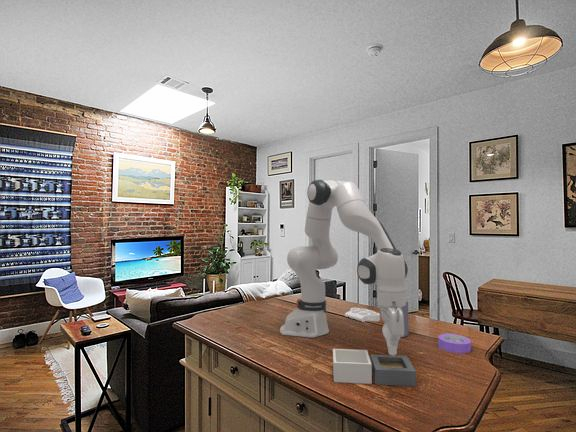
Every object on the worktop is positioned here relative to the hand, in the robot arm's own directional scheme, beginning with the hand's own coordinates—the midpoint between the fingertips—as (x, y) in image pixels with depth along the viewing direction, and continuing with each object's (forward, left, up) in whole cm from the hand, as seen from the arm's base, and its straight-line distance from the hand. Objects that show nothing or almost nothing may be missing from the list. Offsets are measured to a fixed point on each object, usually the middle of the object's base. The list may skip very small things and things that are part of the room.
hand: (392, 341), depth 108 cm
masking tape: (+29, +28, -12) cm, 42 cm away
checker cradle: (0, 0, -11) cm, 11 cm away
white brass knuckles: (-2, +68, -12) cm, 69 cm away
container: (+10, +43, -11) cm, 46 cm away
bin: (-13, 0, -11) cm, 17 cm away
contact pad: (0, 0, -9) cm, 9 cm away
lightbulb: (0, 0, -5) cm, 5 cm away
